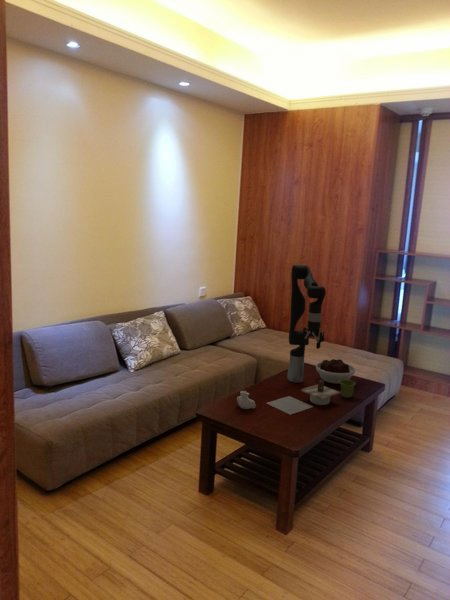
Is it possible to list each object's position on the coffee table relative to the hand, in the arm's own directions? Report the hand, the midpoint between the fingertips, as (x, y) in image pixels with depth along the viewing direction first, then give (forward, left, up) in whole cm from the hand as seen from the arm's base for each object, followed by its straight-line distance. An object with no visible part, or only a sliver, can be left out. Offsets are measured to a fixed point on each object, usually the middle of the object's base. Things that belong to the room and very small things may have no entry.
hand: (312, 346), depth 287 cm
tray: (+5, -22, -30) cm, 38 cm away
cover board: (+11, -3, -24) cm, 27 cm away
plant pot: (+14, +18, -30) cm, 38 cm away
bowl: (+11, -3, -30) cm, 32 cm away
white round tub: (-7, +33, -30) cm, 45 cm away
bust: (-7, -45, -30) cm, 55 cm away
